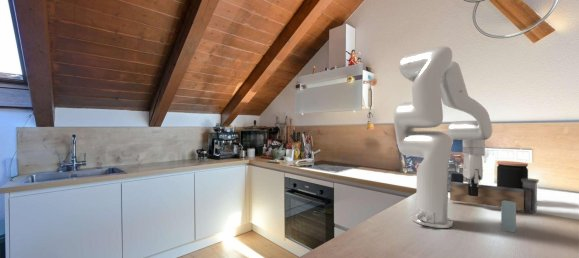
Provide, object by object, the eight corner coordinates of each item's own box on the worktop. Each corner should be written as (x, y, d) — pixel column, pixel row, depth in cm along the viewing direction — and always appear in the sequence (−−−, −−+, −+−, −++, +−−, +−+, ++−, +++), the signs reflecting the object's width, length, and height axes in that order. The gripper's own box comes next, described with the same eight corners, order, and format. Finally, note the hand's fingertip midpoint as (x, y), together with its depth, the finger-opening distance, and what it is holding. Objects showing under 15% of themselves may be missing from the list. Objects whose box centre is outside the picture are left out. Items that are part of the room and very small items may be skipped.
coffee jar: (531, 206, 107) (531, 164, 107) (498, 202, 113) (499, 162, 113) (524, 201, 116) (524, 162, 116) (494, 197, 122) (495, 160, 122)
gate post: (536, 214, 97) (536, 180, 97) (520, 211, 101) (521, 178, 101) (538, 212, 100) (538, 179, 100) (523, 209, 103) (523, 177, 104)
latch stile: (513, 232, 79) (513, 203, 79) (501, 229, 81) (501, 201, 81) (515, 230, 81) (515, 202, 81) (503, 227, 83) (504, 200, 83)
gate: (449, 201, 111) (449, 182, 111) (449, 200, 113) (449, 181, 113) (531, 212, 97) (531, 190, 97) (530, 211, 98) (530, 189, 98)
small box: (464, 194, 128) (464, 173, 128) (450, 193, 129) (450, 173, 129) (455, 189, 138) (455, 170, 138) (442, 188, 140) (442, 169, 140)
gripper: (458, 150, 113) (458, 190, 113) (467, 152, 99) (466, 198, 99) (479, 150, 110) (478, 192, 110) (490, 153, 96) (490, 201, 96)
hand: (472, 195), depth 105 cm, fingers closed
